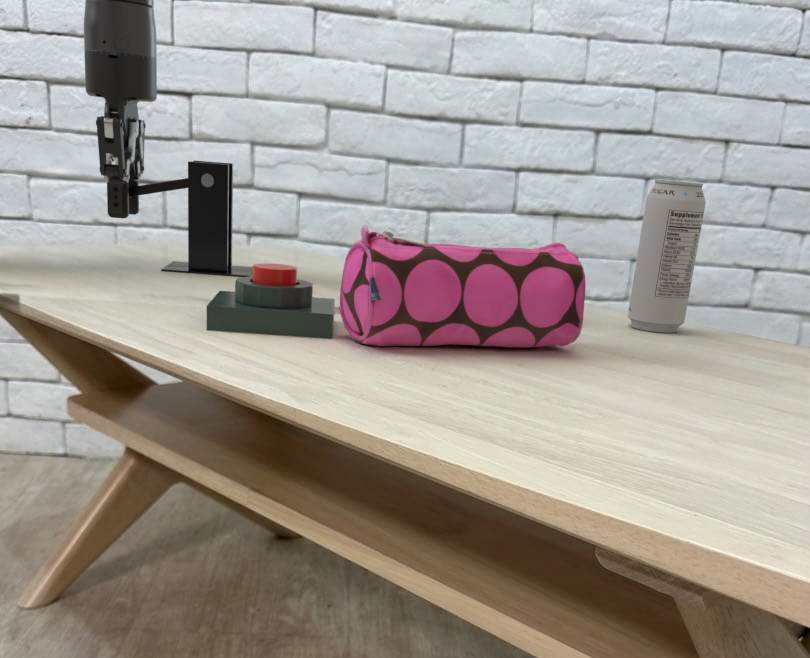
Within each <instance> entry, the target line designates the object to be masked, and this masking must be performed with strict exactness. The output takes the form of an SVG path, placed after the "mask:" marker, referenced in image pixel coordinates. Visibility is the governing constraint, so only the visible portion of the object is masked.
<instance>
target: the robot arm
mask: <svg viewBox="0 0 810 658" xmlns="http://www.w3.org/2000/svg"><path fill="white" fill-rule="evenodd" d="M84 1H85V2H84V15H83V47H84V48H83V49H84V51H83V53H84V81H85V82H84V83H85V86H84V87H85V92H86V94H87V96H89V97H94V98H103V99H104V101H105V102H104V111H103V112H104V113H103V115H101V116H97V117H96V120H95V125H96V134H97V135H96V136H97V146H98V160H99V172H100V175H101V176H103V178H104V181H105V182H106V199H107V215H108V216H109V217H110V218H113V219H126V218H128V217H129V216H130V215H133V216H134V215H137V214H139V212H140V195H138V196H133V197H132V198H129V185H130V186H132V187H133V186H140V181H141V178H142V175H143V174H144V172H145V141H146V140H145V137H146V134H145V133H146V128H147V127H146V123H145V119H140V115H139V107H138V103H139V102H146V103H153V102H155V101H156V100H157V97H158V80H157V79H158V77H157V75H158V74H157V72H158V71H157V66H158V65H157V64H158V63H157V53H158V52H157V28H156V26H157V25H156V20H155V19H156V18H155V9H154V7H155V0H84ZM113 162H116V163H115V164H113Z"/></svg>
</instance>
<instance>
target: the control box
mask: <svg viewBox="0 0 810 658" xmlns="http://www.w3.org/2000/svg"><path fill="white" fill-rule="evenodd" d="M313 293H314V283H313V282H311V281H308V280H305V279H299V278H297V285H294V286H273V285H263V284H257V283H252V276H249V277H236V279H235V281H234V291H229V290H219V291H218V292H217V293H216V294H215V295H214V296H213V298H212V299H211V300H210V301H209V303H207V304H206V331H212V332H224V333H225V332H227V333H240V334H241V333H242V334H255V335H257V334H258V335H269V336H270V335H271V336H272V335H273V336H287V337H299V338H314V339H327V340H328V339H330V340H332V339H333V334H334V326H335V325H334V324H335V309H336V306H335V305H336V298H331V297H330V298H327V297H313Z"/></svg>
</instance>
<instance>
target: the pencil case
mask: <svg viewBox="0 0 810 658" xmlns="http://www.w3.org/2000/svg"><path fill="white" fill-rule="evenodd" d="M360 235H361V239H360V240H359V241H357V242H355V243H354V244H352V246H351V247H350V248H349V250H348V251H347V254H346V256H345V260H344V264H343V269H342V275H341V282H340V288H339V289H340V290H339V310H340V317H341V321H342V323H343V325H344V328H345V329H346V331H347V333H348V335H349V336H350V337H351V339H352V341H354V342H356V343H358V344H361V345H368V346H373V347H399V346H400V347H435V346H445V345H452V346H453V345H455V346H478V347H501V348H539V347H554V346H560V347H566V346H569V345H570V344H572V343H575V342H576V341H577V340H578V338H579V336H580V335H581V332H582V328H583V324H584V323H583V322H584V311H585V301H586V299H585V298H586V288H587V287H586V274H585V270H584V267H583V263H582V262H580V260H579V256H578V255H577V253H574V252H572V251H570V250H569V249H568V248H567V247H566V245H565V244H563V243H561V242H553V243H549V244H546V245H543V246H540V247H536V248H523V247H484V246H472V245H471V246H469V245H459V244H451V243H427V244H425V243H424V242H419V241H415V240H410V239H406V238H402V237H397V236H396V237H395V236H394V233H392V232H390V231H388V230H383V232H381V233H380V232H379V231H370V230H369V227H368V225H367V224H364V225H362V227H361V229H360Z"/></svg>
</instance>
